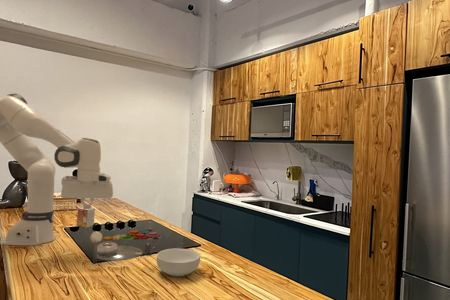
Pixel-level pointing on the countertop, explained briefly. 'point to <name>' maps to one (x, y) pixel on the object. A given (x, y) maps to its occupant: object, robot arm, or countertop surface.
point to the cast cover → (106, 249)
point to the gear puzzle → (135, 235)
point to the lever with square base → (95, 243)
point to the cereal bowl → (178, 261)
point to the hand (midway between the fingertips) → (87, 208)
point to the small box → (85, 217)
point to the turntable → (127, 253)
